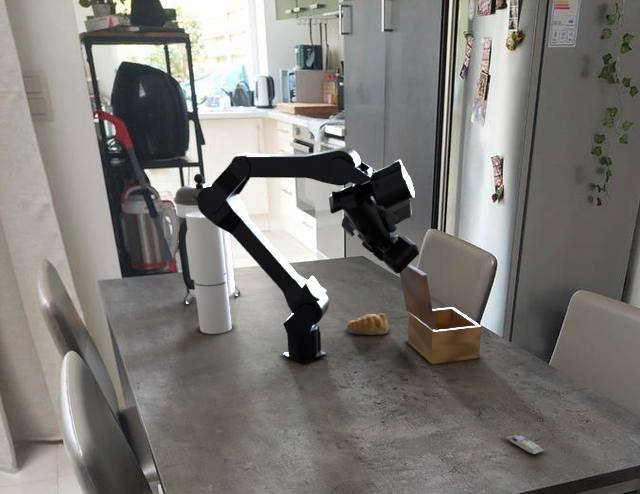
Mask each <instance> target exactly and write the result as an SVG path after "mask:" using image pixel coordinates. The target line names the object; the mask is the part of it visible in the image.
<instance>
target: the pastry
mask: <svg viewBox="0 0 640 494" xmlns="http://www.w3.org/2000/svg"><path fill="white" fill-rule="evenodd" d="M345 328H346V330H347V332H349V333H352V334H354V335H356V336H357V335H364V336H365V335H369V336H376V335H385V334H387V333H388V332H389V323H388V320H387V316H386V314H385V313H382V312H380V313H379V314H377V313H370V314H369V313H368V314H366V315H362V316H360V317H356V318H354V319H352V320H348V322H347V324H346V327H345Z"/></svg>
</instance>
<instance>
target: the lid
mask: <svg viewBox="0 0 640 494" xmlns="http://www.w3.org/2000/svg"><path fill="white" fill-rule="evenodd" d="M399 277H400V278H399V279H400V282H401V287H402V288H401V289H402V293H403V298H404V304H405V308H406V311H407V313H408V312H409V313H411V314H412V315H413V316H415V317H416V318H417V319H419V320H420V321H421V322H422V323H424V324H425V325H426V326H428V327H429V328H430V329H431V330H434V329H436V327H435V322H434V316H433V310H432V309H433V304H432V299H431V293H430V287H429V281H428V276H427V274H426V273H424V272H423V271H422V270H420V269H418V268H416V267H415V266H413V265H411V263H410V264H409V265H408V266H407V267H406V268H405V269H404V270H403V271H402V272H401V273H399Z"/></svg>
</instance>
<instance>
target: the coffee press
mask: <svg viewBox="0 0 640 494" xmlns="http://www.w3.org/2000/svg"><path fill="white" fill-rule="evenodd" d="M193 180H194V182H195V184H188V185H183V186H181V187H180V188H178V189H177V190H176V192H175V195H174V197H173V202H174V204H175V207H176V222H177V225H178V235H177V241H178V250H179V251H178V252H179V258H180V259H179V260H180V265H181V273H182V278H183V282H184V285H185V287H186V288H185V289H186V293H185V295H184V297H183V300H182V301H183V302H184V303H185V304H186V305H189V304H191V303H192V302H193V300H196V292H195V285H194V277H193V269H192V261H191V253H190V245H189V237H188V229H187V221H186V214H188V213H191V212H199V211H200V210H199V208H198V200H197V199H198V194H199V193H200V191H201V190H202V189H203V188H205V187H207V186H210V185H211V184H210V183H209V184H208V183H203V182H204V180H205V178H204V176H203V175H202V174H201V173H196V174H195V175H194V176H193ZM222 238H223V248H224V258H225V268H226V278H227V288H228V297H230V296H231V295H234V296H235V297H240V296H241V291H240V289H238V287H237V286H236V279H235V278H236V277H235V269H234V259H233V247H232V238H231V234H230V233H229V232H227V231H225V230H223V229H222ZM235 290H236V291H237V294H235V293H234V292H235ZM189 295H190V296H191V297H190V298H189V299H188V297H189ZM187 299H188V301H187Z"/></svg>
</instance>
